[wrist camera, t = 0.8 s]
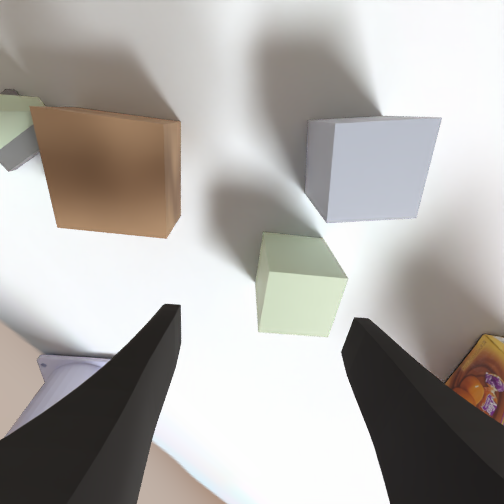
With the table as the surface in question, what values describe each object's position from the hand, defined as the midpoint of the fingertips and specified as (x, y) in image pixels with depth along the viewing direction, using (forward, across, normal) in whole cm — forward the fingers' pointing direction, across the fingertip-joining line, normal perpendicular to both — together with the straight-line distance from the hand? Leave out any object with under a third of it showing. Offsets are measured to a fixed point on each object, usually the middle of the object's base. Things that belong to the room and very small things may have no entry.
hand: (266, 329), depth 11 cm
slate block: (+10, -5, -6) cm, 12 cm away
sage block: (+10, -3, +2) cm, 10 cm away
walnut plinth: (+10, +8, -4) cm, 14 cm away
